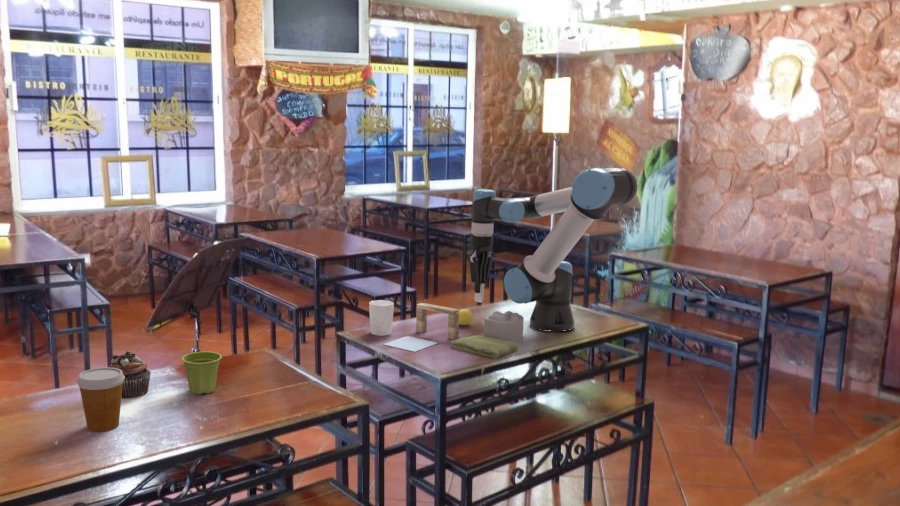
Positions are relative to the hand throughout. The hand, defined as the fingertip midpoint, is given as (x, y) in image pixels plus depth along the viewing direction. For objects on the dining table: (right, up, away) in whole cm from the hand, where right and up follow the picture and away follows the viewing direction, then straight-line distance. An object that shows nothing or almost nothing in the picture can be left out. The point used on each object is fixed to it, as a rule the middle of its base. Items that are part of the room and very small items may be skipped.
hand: (478, 301), depth 272 cm
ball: (-5, -5, -7) cm, 10 cm away
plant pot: (-72, -18, -77) cm, 107 cm away
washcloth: (0, -13, -34) cm, 37 cm away
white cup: (-32, -9, -20) cm, 39 cm away
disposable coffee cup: (-86, -21, -101) cm, 134 cm away
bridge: (-14, -9, -20) cm, 26 cm away
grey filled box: (+8, -11, -23) cm, 26 cm away
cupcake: (-88, -18, -80) cm, 121 cm away
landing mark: (-22, -11, -32) cm, 40 cm away
